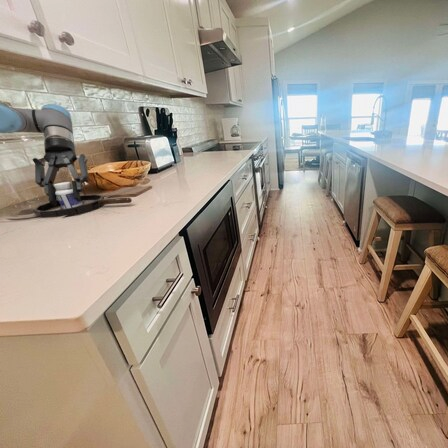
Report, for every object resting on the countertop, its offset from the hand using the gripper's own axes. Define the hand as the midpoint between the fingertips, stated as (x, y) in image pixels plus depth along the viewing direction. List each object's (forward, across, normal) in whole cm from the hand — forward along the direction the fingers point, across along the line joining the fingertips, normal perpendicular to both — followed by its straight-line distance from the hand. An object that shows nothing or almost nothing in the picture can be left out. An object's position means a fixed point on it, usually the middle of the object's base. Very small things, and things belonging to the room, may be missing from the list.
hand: (65, 201), depth 76 cm
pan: (+2, -5, -4) cm, 6 cm away
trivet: (-9, -15, -14) cm, 23 cm away
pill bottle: (0, 0, -5) cm, 5 cm away
